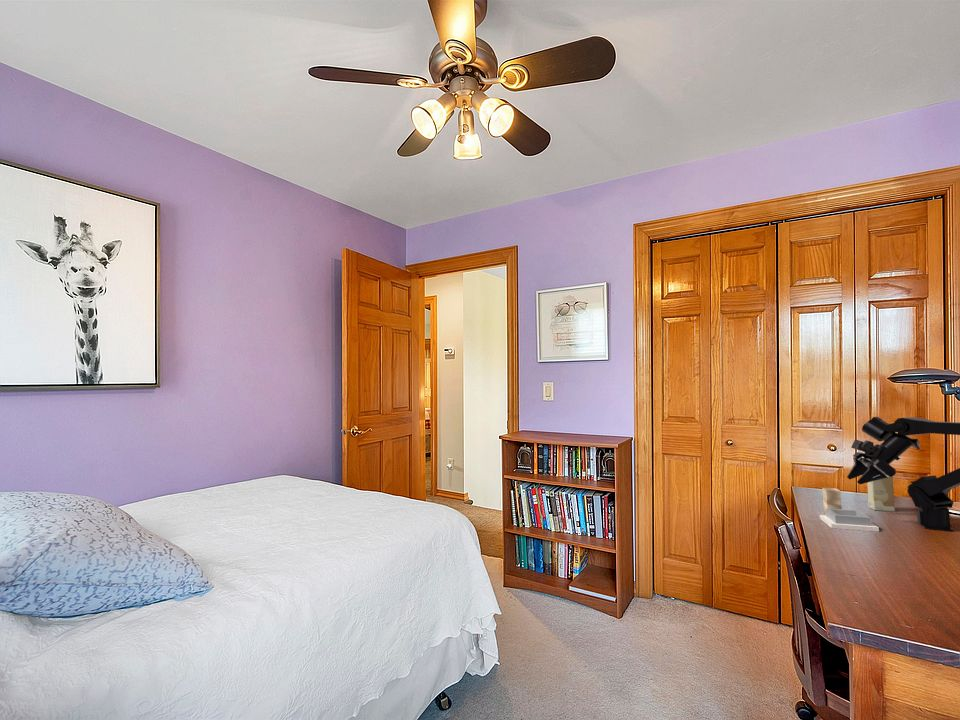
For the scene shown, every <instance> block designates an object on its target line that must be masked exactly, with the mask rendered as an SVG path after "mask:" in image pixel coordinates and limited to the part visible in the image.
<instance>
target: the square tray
mask: <svg viewBox="0 0 960 720" xmlns="http://www.w3.org/2000/svg"><path fill="white" fill-rule="evenodd" d="M819 519H820V520H822V521H823V522H824V523H825V524H826V525H827V526H829V527H830V528H831V529H839V530H852V531H856V530H857V531H865V532H867V531H868V532H880V527H879V526H877V525H876V524H874V523H873V522H871V517H870V516H868V515H867V514H865V513H863V512H862V511H860V510H858V509H857V510H856V509H843V508H842V509H827V508H826V515H825V514H819Z"/></svg>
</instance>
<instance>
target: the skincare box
mask: <svg viewBox="0 0 960 720" xmlns="http://www.w3.org/2000/svg"><path fill="white" fill-rule="evenodd" d="M886 476H887V475H886ZM887 477H888V478H883V479H879V480H875V481H871V482H868V483H866V484H867V502H868V505H867V506H868V508H870V509H872V510H873V511H884V512H895V509H896V508H895V507H896V506H895V491H894V490H895V489H894V477H893V476H892V477H889V476H887Z"/></svg>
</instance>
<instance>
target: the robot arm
mask: <svg viewBox="0 0 960 720" xmlns="http://www.w3.org/2000/svg"><path fill="white" fill-rule="evenodd" d="M861 430H862V432H863V433H864V434H866V435H867V436H869V437H871V438H872V439H874V440H875V441H877V442H882V443H880V444H878V443H876V444H874V442H873V441H870V440H867V439H866V440H865V441H862V440H860V439H855V438H854V441H853V442H852V444H851V447H850V449H854V450H857V451H859V452H857V451H856V452H855V453H854V454H853V455H852V457H853V458H852V459H853V463H854V464H853V465H852V468H851V469H850V471H849V472H848V474H847V476H846V478H847V479H848V480H852V479H855V478H857V477H859V478H858V480H857V481H856V482H857V484H858V485H863V484H867V483H868V482H871V481H875V480H879V479H883V478H888V477H887V476H889V477H893V476H895V475H897V472H896V471H897V470H896V469H895V467H893V466H892V465H891V464H892V463H893V462H894V461H899V460H900V459H901V457H900V456H902V455H903V454H904V453H905V452H906V451H907V450H908V449H911V447H913V449H916V450H918V451H919V450H920V449H921V446H920V441H919V439H918V438H912V437H909V436H917V435H918V436H919V435H927V434H928V435H929V434H934V435H935V434H937V435H955V436H956V435H957V436H960V422H959V421H955V422H953V421H936V420H931V419H927V418H923V417H917V416H913V417H911V416H909V417H899V418H896V419H895V420H894V422H892V423H888V422H886V421H884V420H883V419H882V418H880V417H879V416H872V417H871V419H869V420H868V421H867V422H866V423H864V424H863V425H862V427H861ZM886 475H887V476H886ZM959 486H960V467H959V468H957V469H955V470H952V471H950V472H948V473H947V472H946V474H943V475H941V476H939V477H937V475H925V476H921V477H919V478H917V479H916V480H913V481H910V484H909V485H908V486H907V494H908V496H909V497H910V498H911V500H912V502H913V504H914V506H915V507H917V508H918V509H916V516H917V517H916V518H917V524H919V525H920V526H921V527H922V528H924V529H929V530H938V531H951V532H954V528H952V527H951V518H950V508H953V506H954V500H952V499H951V498H950V497H949V496H948V494H949V493H950V492H951V491H952V490H953V489H955V488H957V487H959Z"/></svg>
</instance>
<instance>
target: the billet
mask: <svg viewBox="0 0 960 720" xmlns="http://www.w3.org/2000/svg"><path fill="white" fill-rule="evenodd" d="M841 495H842V494H841V490H840V489H838V488H834V487H833V488H832V487H822V500H823V513H824V514H823V515H826V508H827V509H843V508H842V507H843V506H842V496H841Z"/></svg>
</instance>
